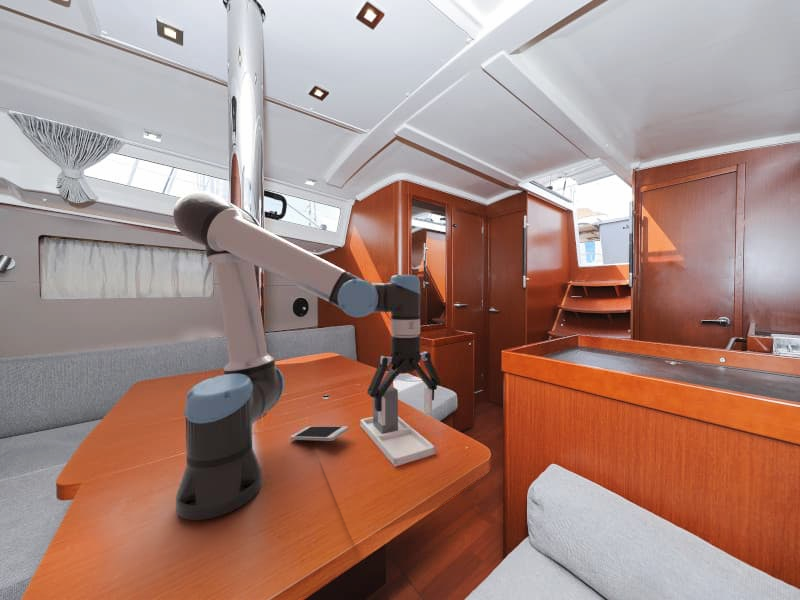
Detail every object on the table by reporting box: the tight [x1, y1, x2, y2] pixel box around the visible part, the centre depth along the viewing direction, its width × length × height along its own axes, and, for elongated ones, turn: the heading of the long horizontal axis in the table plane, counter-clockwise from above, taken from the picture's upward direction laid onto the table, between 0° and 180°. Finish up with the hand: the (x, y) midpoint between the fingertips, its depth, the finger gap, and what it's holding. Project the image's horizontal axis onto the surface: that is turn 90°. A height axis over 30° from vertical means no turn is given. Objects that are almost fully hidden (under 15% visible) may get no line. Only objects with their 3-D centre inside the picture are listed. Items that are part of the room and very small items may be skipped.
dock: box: [359, 384, 436, 468], centre depth 80 cm, size 11×24×13 cm, turn 27°
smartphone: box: [289, 425, 349, 442], centre depth 79 cm, size 7×16×1 cm, turn 63°
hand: (405, 417), depth 73 cm, fingers open, 13 cm apart
